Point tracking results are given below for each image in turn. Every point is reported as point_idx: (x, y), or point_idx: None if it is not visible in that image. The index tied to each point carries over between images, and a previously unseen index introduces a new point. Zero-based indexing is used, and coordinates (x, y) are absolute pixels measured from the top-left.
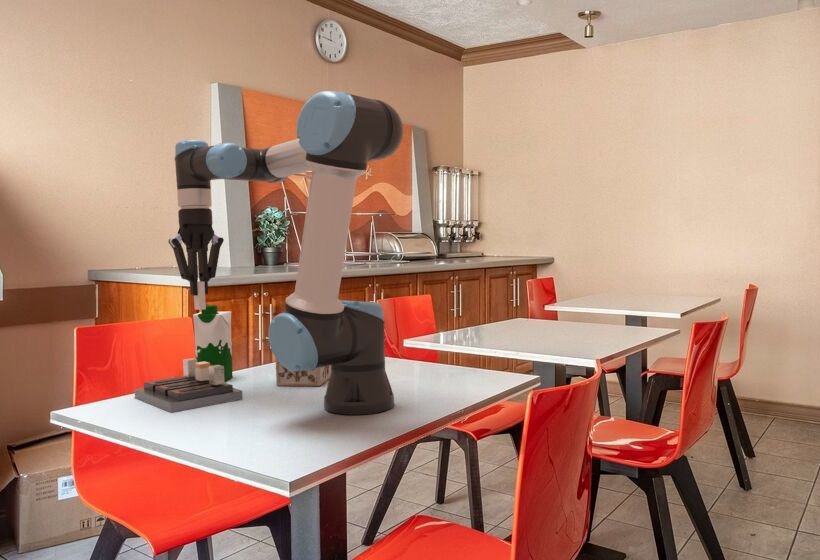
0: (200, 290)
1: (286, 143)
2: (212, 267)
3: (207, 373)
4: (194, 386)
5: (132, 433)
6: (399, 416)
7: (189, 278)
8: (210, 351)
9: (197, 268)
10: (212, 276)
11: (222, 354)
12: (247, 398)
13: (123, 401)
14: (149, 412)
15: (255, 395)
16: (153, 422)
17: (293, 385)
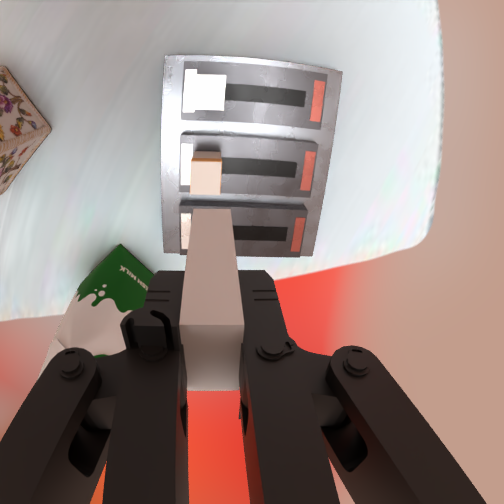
0: (224, 272)
1: None
2: (52, 440)
3: (200, 154)
4: (255, 121)
5: (433, 20)
6: None
7: (340, 351)
8: (125, 297)
9: (260, 451)
10: (81, 357)
11: (100, 281)
12: (155, 57)
13: (335, 236)
14: (357, 111)
15: (127, 72)
16: (388, 41)
17: (31, 103)
